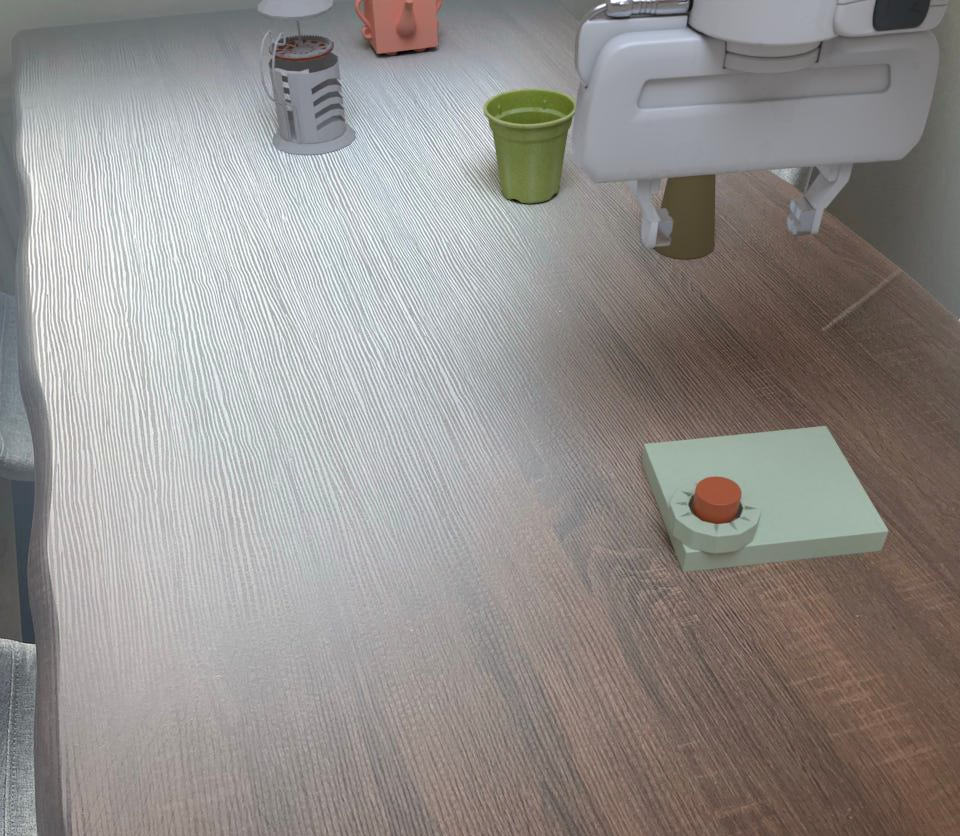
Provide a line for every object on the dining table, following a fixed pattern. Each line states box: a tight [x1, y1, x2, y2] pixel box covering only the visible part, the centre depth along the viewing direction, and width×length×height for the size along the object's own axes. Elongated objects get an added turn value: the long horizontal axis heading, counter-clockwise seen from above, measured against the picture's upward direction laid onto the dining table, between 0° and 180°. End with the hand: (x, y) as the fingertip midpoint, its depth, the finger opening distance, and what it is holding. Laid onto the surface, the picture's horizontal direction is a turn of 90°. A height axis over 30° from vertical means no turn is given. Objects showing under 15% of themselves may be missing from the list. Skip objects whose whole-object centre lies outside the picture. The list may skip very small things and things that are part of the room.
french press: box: [257, 0, 356, 156], centre depth 110 cm, size 10×12×25 cm
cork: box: [654, 174, 717, 260], centre depth 96 cm, size 6×6×11 cm
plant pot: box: [482, 88, 576, 204], centre depth 106 cm, size 9×9×9 cm
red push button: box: [692, 476, 742, 524], centre depth 68 cm, size 3×3×2 cm
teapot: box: [354, 0, 443, 56], centre depth 136 cm, size 12×15×8 cm
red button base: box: [641, 425, 890, 573], centre depth 72 cm, size 14×12×4 cm
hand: (728, 237), depth 64 cm, fingers open, 8 cm apart
